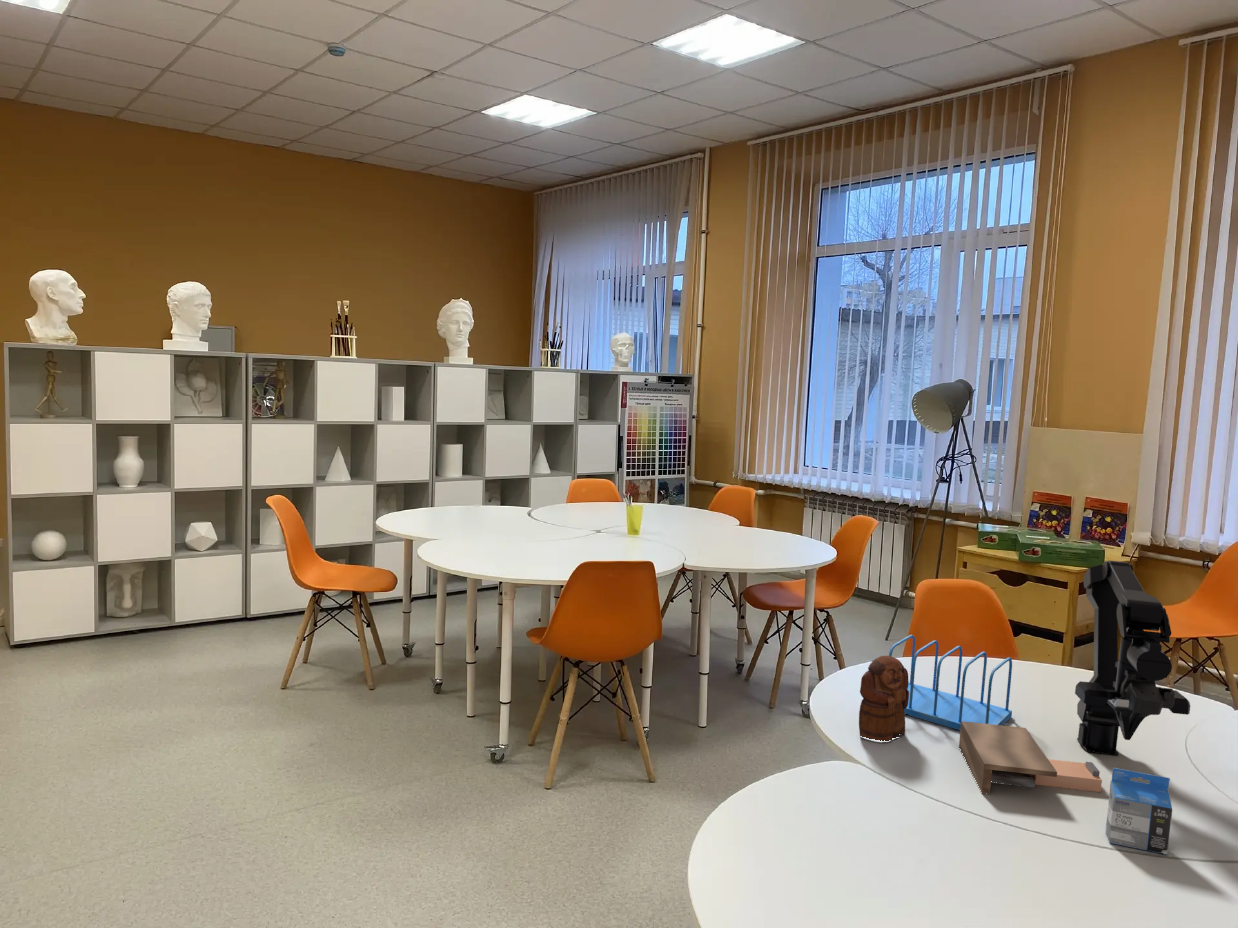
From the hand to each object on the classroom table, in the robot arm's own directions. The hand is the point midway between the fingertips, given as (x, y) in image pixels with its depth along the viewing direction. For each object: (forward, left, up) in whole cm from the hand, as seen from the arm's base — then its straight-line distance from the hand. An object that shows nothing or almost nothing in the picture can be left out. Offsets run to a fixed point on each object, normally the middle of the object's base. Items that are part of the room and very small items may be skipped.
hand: (1126, 738), depth 166 cm
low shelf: (+22, 0, -10) cm, 24 cm away
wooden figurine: (+44, -12, -10) cm, 47 cm away
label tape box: (+6, +22, -10) cm, 25 cm away
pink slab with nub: (+11, 0, -10) cm, 15 cm away
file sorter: (+27, -29, -10) cm, 41 cm away
